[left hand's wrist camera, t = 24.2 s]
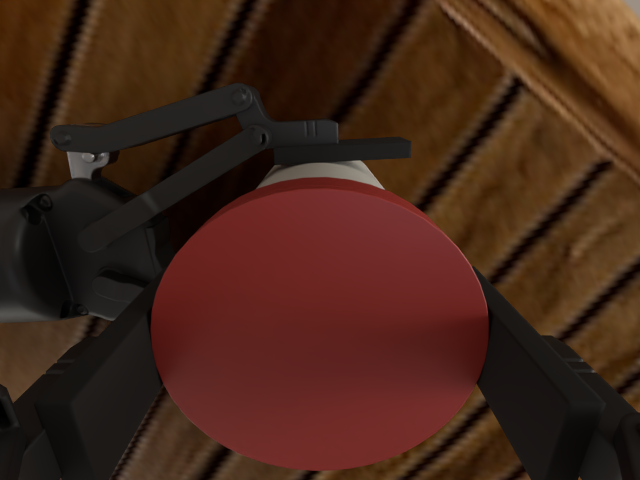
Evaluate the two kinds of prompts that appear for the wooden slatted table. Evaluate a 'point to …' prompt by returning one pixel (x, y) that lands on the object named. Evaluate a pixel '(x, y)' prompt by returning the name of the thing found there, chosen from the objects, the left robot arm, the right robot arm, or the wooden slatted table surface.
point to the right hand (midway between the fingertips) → (401, 235)
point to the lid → (319, 325)
